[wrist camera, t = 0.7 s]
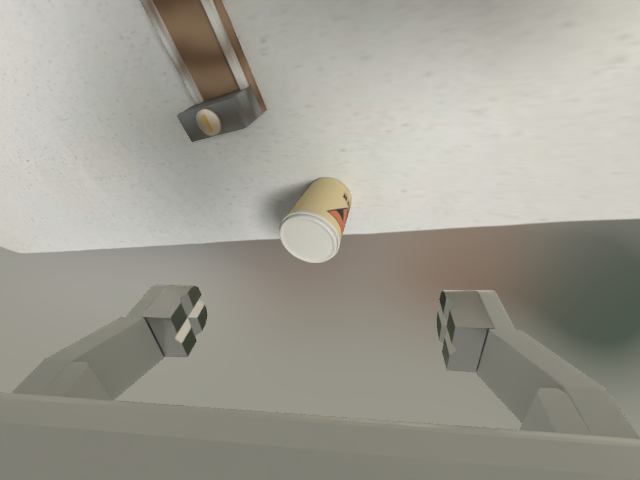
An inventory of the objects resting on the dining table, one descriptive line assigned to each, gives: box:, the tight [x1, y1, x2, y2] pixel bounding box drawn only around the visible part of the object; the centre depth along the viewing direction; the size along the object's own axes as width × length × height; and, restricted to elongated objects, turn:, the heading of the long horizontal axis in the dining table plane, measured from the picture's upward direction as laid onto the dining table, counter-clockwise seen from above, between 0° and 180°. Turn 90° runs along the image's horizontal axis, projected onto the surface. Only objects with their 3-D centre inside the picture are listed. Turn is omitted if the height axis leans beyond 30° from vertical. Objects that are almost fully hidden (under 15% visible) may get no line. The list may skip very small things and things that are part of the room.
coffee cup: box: [279, 177, 352, 263], centre depth 52 cm, size 9×9×12 cm
